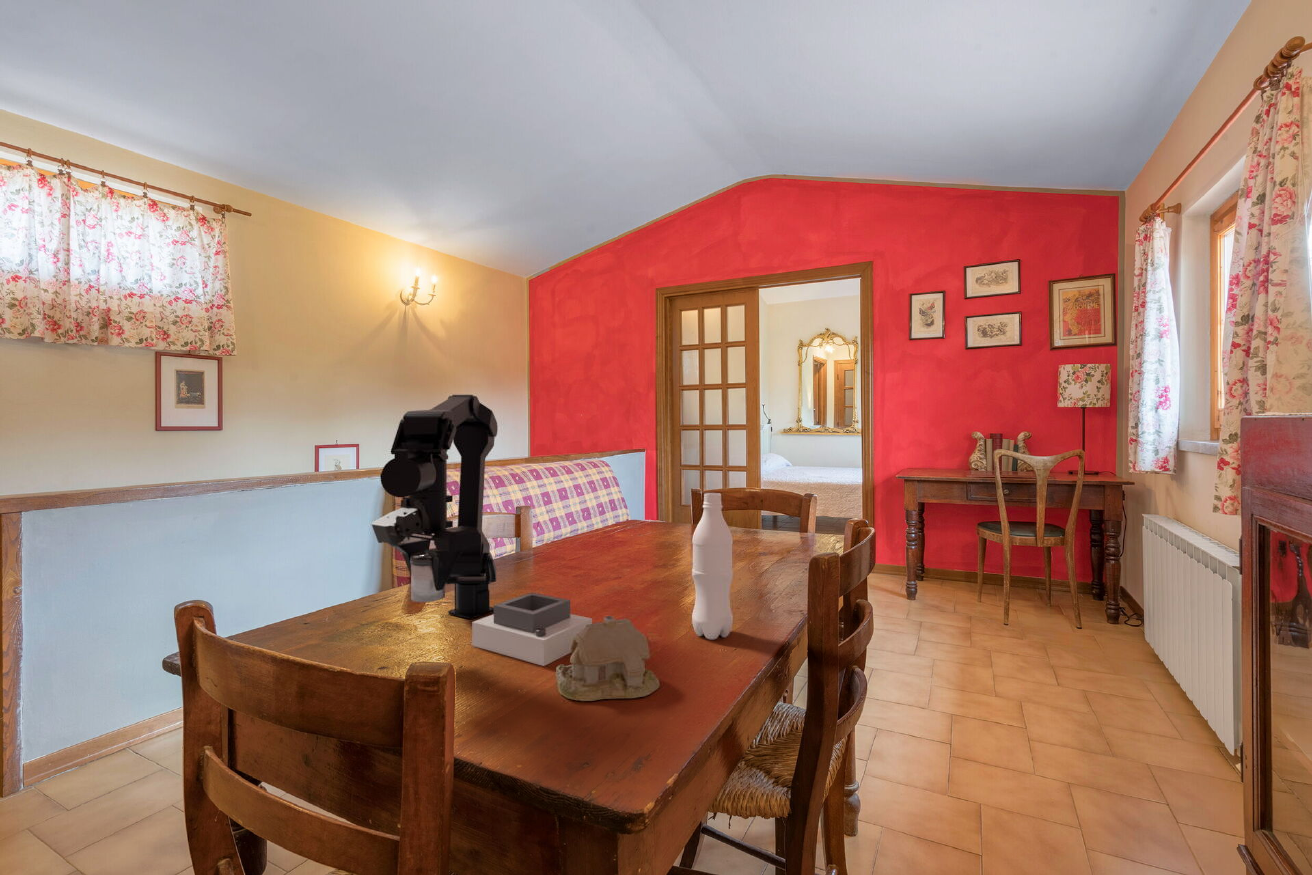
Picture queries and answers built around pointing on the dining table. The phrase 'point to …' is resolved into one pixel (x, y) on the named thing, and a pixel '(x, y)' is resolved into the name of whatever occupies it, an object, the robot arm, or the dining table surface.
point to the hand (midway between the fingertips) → (428, 587)
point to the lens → (423, 579)
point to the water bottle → (712, 571)
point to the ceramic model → (607, 663)
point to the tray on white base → (530, 628)
